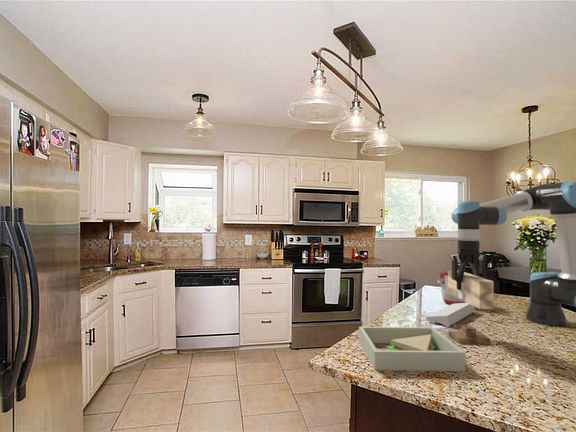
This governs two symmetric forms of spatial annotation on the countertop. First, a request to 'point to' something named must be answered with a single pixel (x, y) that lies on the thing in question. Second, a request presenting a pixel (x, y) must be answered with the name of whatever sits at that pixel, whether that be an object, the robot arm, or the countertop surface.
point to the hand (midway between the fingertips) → (468, 298)
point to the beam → (474, 290)
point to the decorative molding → (451, 314)
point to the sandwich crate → (440, 360)
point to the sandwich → (413, 343)
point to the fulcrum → (469, 336)
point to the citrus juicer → (444, 290)
